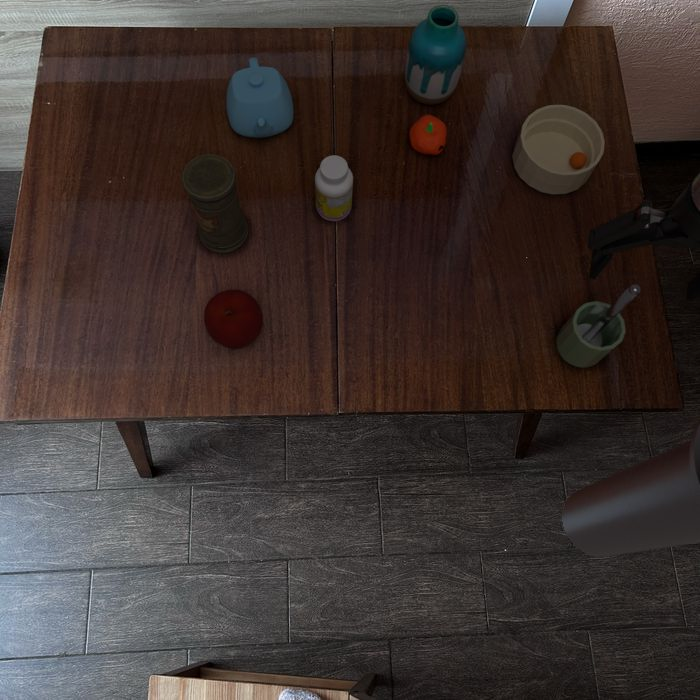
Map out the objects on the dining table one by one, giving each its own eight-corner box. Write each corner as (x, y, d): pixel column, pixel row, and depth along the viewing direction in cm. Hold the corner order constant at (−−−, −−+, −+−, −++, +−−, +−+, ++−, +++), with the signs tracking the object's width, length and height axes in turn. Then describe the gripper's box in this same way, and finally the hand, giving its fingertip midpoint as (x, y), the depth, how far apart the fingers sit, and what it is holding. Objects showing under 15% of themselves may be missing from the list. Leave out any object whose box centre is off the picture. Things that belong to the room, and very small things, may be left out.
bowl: (585, 203, 130) (599, 182, 123) (506, 186, 131) (515, 164, 124) (595, 137, 135) (608, 114, 129) (518, 121, 136) (527, 97, 129)
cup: (602, 372, 119) (623, 355, 110) (552, 361, 119) (569, 343, 111) (607, 328, 122) (628, 308, 113) (559, 317, 122) (576, 296, 114)
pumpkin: (443, 126, 135) (449, 104, 129) (446, 161, 132) (452, 140, 126) (407, 126, 135) (410, 104, 129) (409, 161, 132) (413, 140, 126)
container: (226, 201, 128) (211, 141, 111) (259, 232, 126) (248, 176, 109) (189, 231, 126) (167, 174, 109) (221, 263, 124) (204, 210, 107)
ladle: (594, 360, 119) (653, 307, 97) (564, 353, 119) (616, 299, 98) (598, 333, 121) (656, 275, 99) (568, 326, 121) (620, 267, 99)
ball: (582, 173, 132) (587, 163, 129) (566, 169, 132) (571, 160, 129) (584, 160, 133) (589, 150, 130) (568, 156, 133) (574, 147, 130)
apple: (230, 297, 122) (222, 271, 112) (276, 323, 120) (272, 299, 111) (199, 340, 119) (188, 318, 109) (246, 367, 117) (239, 347, 108)
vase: (398, 72, 139) (408, -6, 121) (450, 69, 140) (468, -10, 122) (405, 116, 136) (417, 42, 118) (459, 112, 136) (478, 38, 118)
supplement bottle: (315, 192, 129) (313, 150, 117) (350, 190, 130) (352, 148, 117) (316, 223, 127) (315, 184, 115) (352, 222, 127) (355, 182, 115)
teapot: (226, 128, 121) (216, 47, 127) (234, 164, 131) (224, 87, 137) (298, 120, 122) (285, 39, 128) (300, 156, 132) (288, 80, 138)
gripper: (836, 194, 77) (731, 277, 97) (614, 147, 79) (556, 238, 99) (836, 253, 75) (729, 325, 95) (607, 203, 76) (549, 285, 96)
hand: (640, 281), depth 97 cm, fingers open, 13 cm apart
